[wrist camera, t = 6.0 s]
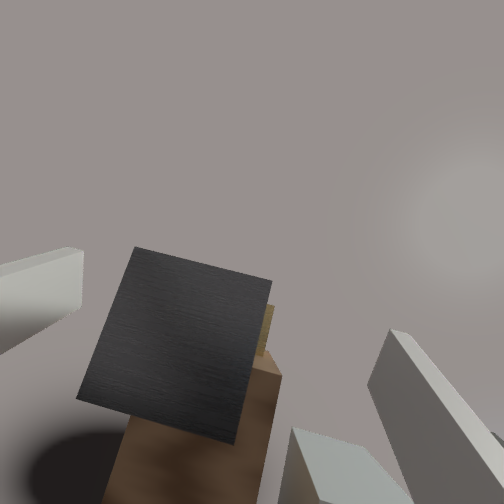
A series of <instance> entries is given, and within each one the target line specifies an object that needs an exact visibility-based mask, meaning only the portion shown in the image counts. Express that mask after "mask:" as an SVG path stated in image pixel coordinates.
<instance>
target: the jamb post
mask: <svg viewBox="0 0 504 504" xmlns="http://www.w3.org/2000/svg"><path fill="white" fill-rule="evenodd" d="M281 379H282V374H281V373H280V371H279V369H278V367H277V366H276V364H275V362H274V360H273V358H272V357H271V355H270V353H269V352H268V351H266V350H265V351H264V355H263V357H261V356H258V355H255V357H254V361H253V366H252V370H251V374H250V379H249V383H248V387H247V391H246V396H245V400H244V404H243V409H242V413H241V417H240V421H239V426H238V430H237V434H236V438H235V443H234V445H230V444H227V443H223V442H220V441H217V440H213V439H210V438H206V437H203V436H200V435H196V434H193V433H190V432H186V431H183V430H179V429H176V428H173V427H169V426H166V425H163V424H159V423H156V422H152V421H149V420H146V419H142V418H139V417H135V416H132V415H131V416H130V419H129V422H128V425H127V428H126V431H125V434H124V437H123V440H122V443H121V446H120V449H119V453H118V455H117V458H116V461H115V464H114V467H113V470H112V473H111V476H110V479H109V483H108V485H107V488H106V491H105V494H104V497H103V500H102V503H101V504H256V502H257V497H258V492H259V487H260V482H261V477H262V472H263V467H264V462H265V457H266V453H267V448H268V443H269V438H270V433H271V428H272V423H273V418H274V414H275V409H276V404H277V399H278V394H279V389H280V384H281Z"/></svg>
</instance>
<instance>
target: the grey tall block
mask: <svg viewBox="0 0 504 504" xmlns="http://www.w3.org/2000/svg"><path fill="white" fill-rule="evenodd" d="M278 504H414V502H413V501H412V500H411V499H410V498H409V496H408V495H407V494H406V493H405V492H404V491H403V490H402V489H401V488H400V486H399V485H398V484H397V483H396V482H395V481H394V480H393V479H392V478H391V477H390V475H389V474H388V473H387V472H386V471H385V470H384V469H383V468H382V467H381V466H380V464H379V463H378V462H377V461H376V460H375V459H374V458H373V456H372V455H371V454H370V453H369V452H368V451H367V450H366V449H365V448H364V447H362V446H358V445H355V444H351V443H348V442H344V441H341V440H337V439H334V438H330V437H326V436H323V435H320V434H316V433H313V432H309V431H306V430H302V429H298V428H295V427H292V429H291V434H290V439H289V445H288V450H287V455H286V461H285V466H284V472H283V477H282V482H281V488H280V494H279V498H278Z"/></svg>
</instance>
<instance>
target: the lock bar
mask: <svg viewBox="0 0 504 504" xmlns="http://www.w3.org/2000/svg"><path fill="white" fill-rule="evenodd" d="M271 284H272V281H271V280H267V279H263V278H258V277H255V276H251V275H247V274H243V273H239V272H235V271H231V270H227V269H223V268H218V267H215V266H210V265H207V264H202V263H199V262H194V261H191V260H187V259H182V258H178V257H175V256H171V255H166V254H163V253H159V252H154V251H150V250H146V249H142V248H138V247H134V250H133V252H132V255H131V258H130V260H129V263H128V265H127V268H126V270H125V273H124V276H123V278H122V281H121V283H120V286H119V289H118V291H117V294H116V296H115V299H114V301H113V304H112V307H111V309H110V312H109V315H108V317H107V320H106V322H105V325H104V327H103V330H102V332H101V335H100V338H99V340H98V343H97V345H96V348H95V351H94V353H93V356H92V358H91V361H90V364H89V366H88V369H87V371H86V374H85V376H84V379H83V382H82V384H81V387H80V389H79V392H78V395H77V397H76V399H78V400H82V401H85V402H88V403H91V404H95V405H98V406H102V407H105V408H109V409H112V410H115V411H119V412H122V413H125V414H129V415H132V416H135V417H139V418H142V419H146V420H149V421H152V422H156V423H159V424H163V425H166V426H169V427H173V428H176V429H179V430H183V431H186V432H190V433H193V434H196V435H200V436H203V437H206V438H210V439H213V440H217V441H220V442H223V443H227V444H230V445H234V443H235V438H236V434H237V430H238V426H239V421H240V417H241V413H242V409H243V404H244V400H245V396H246V391H247V387H248V383H249V379H250V374H251V370H252V366H253V361H254V357H255V355H258V356H261V357H263V355H264V351H265V346H266V342H267V338H268V333H269V328H270V324H271V320H272V315H273V311H274V306H272V305H269V304H267V302H268V297H269V293H270V289H271Z"/></svg>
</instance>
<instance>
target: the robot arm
mask: <svg viewBox="0 0 504 504" xmlns="http://www.w3.org/2000/svg"><path fill="white" fill-rule="evenodd" d="M83 259H84V251H83V250H79V249H75V248H71V247H64V248H60V249H57V250H54V251H50V252H46V253H42V254H39V255H35V256H32V257H28V258H25V259H20V260H17V261H13V262H10V263H6V264H2V265H0V355H1V354H3V353H4V352H6V351H8V350H9V349H11V348H13V347H14V346H16V345H18V344H20V343H21V342H23V341H25V340H26V339H28V338H30V337H32V336H33V335H35V334H37V333H38V332H40V331H42V330H43V329H45V328H47V327H48V326H50V325H52V324H54V323H55V322H57V321H59V320H61V319H62V318H64V317H66V316H67V315H69V314H71V313H72V312H74V311H76V310H78V309H79V308H81V307H82V284H83ZM367 386H368V389H369V391H370V394H371V396H372V399H373V401H374V403H375V406H376V409H377V411H378V414H379V416H380V419H381V421H382V424H383V426H384V429H385V431H386V434H387V436H388V439H389V441H390V444H391V446H392V449H393V451H394V454H395V456H396V459H397V461H398V464H399V466H400V469H401V471H402V474H403V476H404V479H405V481H406V484H407V486H408V489H409V491H410V494H411V497H412V499H413V502H414V504H504V441H503V440H502V439H501V438H499V437H498V436H497V435H496V434H495V433H493V432H490V431H489V430H488V429H487V428H486V427H485V425H484V424H483V423H482V422H481V420H480V419H479V418H478V417H477V416H476V414H475V413H474V412H473V411H472V409H471V408H470V407H469V406H468V405H467V403H466V402H465V401H464V400H463V399H462V397H461V396H460V395H459V394H458V392H457V391H456V390H455V389H454V388H453V386H452V385H451V384H450V383H449V382H448V380H447V379H446V378H445V377H444V375H443V374H442V373H441V372H440V371H439V369H438V368H437V367H436V366H435V364H434V363H433V362H432V361H431V360H430V358H429V357H428V356H427V355H426V353H425V352H424V351H423V350H422V349H421V347H420V346H419V345H418V344H417V343H416V341H415V340H414V339H413V338H412V337H411V335H410V334H408V333H404V332H400V331H396V330H392V329H389V332H388V335H387V337H386V339H385V342H384V344H383V347H382V349H381V352H380V354H379V357H378V359H377V362H376V364H375V367H374V370H373V371H372V374H371V377H370V379H369V381H368V384H367Z"/></svg>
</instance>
